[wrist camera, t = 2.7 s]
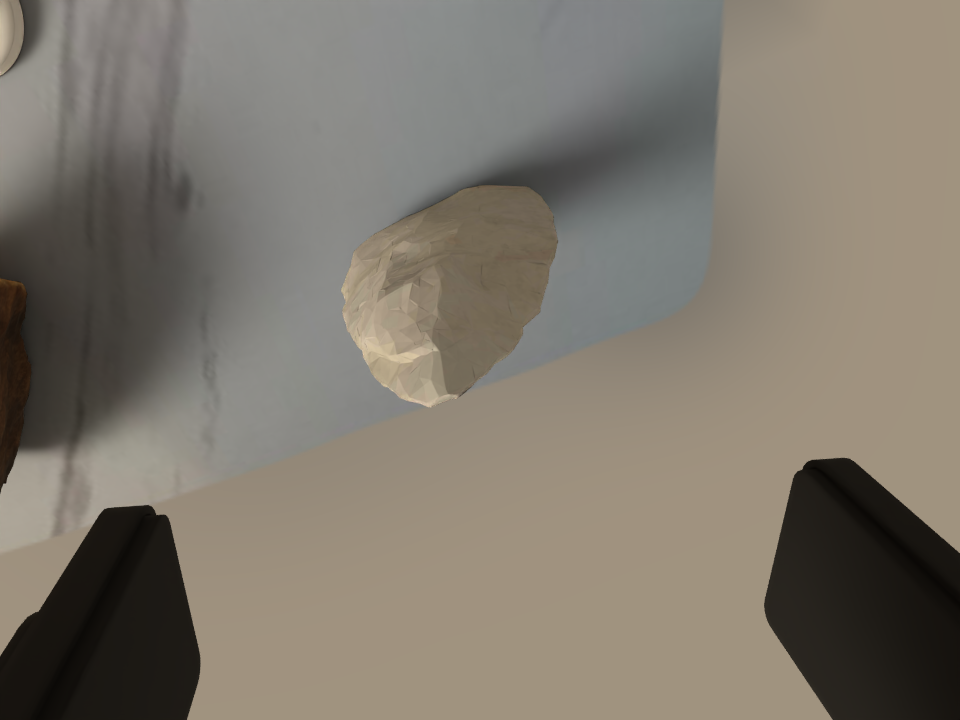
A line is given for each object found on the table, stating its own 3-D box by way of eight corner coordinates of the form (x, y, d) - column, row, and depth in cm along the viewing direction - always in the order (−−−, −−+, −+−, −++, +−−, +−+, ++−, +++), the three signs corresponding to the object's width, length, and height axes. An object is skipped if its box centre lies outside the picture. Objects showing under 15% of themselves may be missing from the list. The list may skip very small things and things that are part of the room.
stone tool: (365, 298, 30) (340, 508, 16) (330, 236, 28) (271, 408, 15) (542, 213, 29) (671, 358, 15) (514, 146, 28) (629, 240, 14)
